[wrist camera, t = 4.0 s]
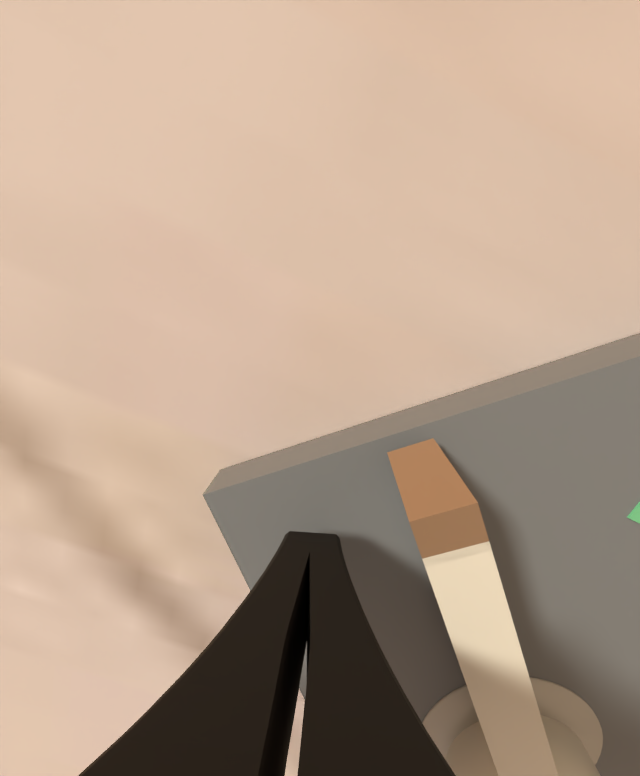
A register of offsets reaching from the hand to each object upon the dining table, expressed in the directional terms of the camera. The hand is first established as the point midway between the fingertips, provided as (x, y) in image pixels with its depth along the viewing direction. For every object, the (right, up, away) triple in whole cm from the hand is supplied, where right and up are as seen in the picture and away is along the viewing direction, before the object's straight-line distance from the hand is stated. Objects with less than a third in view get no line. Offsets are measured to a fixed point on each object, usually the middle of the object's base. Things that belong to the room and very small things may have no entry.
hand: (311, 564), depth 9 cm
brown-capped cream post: (+5, -3, +1) cm, 6 cm away
